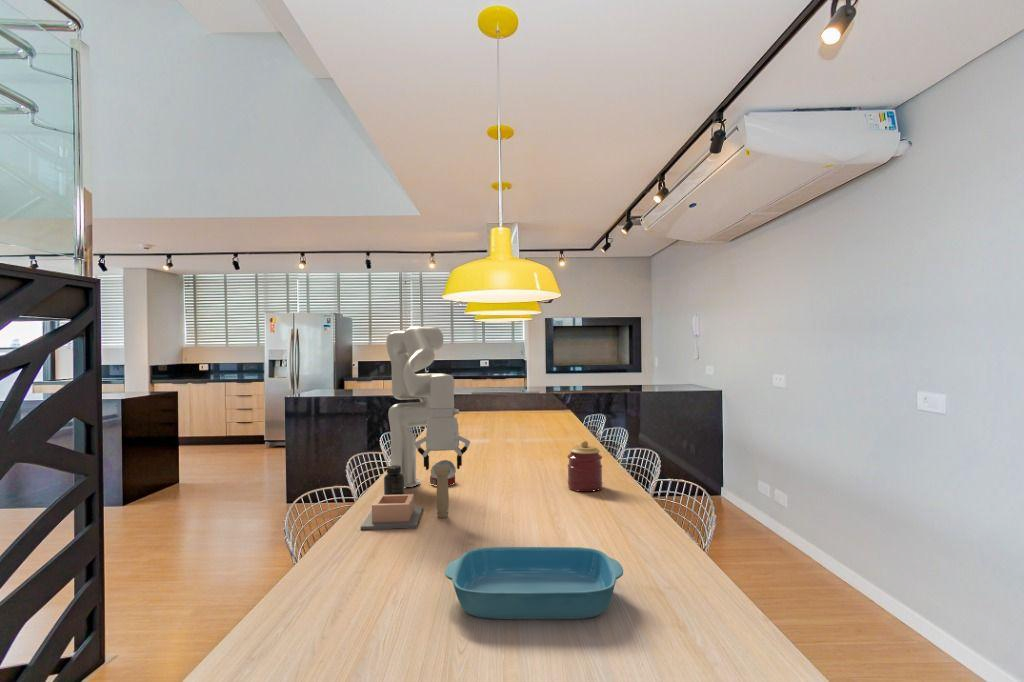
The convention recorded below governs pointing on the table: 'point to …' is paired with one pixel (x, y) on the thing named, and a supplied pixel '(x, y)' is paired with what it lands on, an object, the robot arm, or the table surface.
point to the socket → (393, 512)
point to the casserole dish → (534, 582)
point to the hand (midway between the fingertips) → (442, 468)
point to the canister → (584, 468)
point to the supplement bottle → (394, 481)
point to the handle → (442, 490)
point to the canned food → (450, 477)
